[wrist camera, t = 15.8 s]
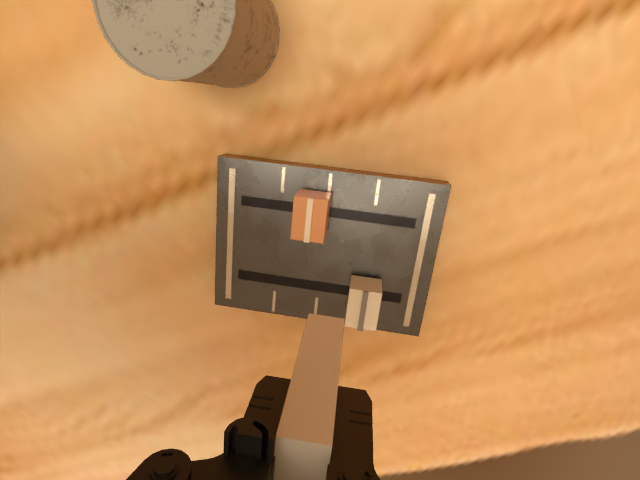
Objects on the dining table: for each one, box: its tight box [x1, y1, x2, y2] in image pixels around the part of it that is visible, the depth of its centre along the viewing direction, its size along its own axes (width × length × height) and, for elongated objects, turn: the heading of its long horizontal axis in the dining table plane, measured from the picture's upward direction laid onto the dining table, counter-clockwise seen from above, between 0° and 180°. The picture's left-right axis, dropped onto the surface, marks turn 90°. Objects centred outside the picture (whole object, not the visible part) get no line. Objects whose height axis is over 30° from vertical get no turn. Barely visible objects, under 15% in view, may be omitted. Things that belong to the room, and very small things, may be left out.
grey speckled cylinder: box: [92, 0, 279, 88], centre depth 31 cm, size 10×10×12 cm
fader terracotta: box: [290, 189, 332, 244], centre depth 37 cm, size 3×4×4 cm
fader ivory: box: [345, 275, 382, 331], centre depth 39 cm, size 3×4×4 cm
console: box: [215, 154, 451, 336], centre depth 41 cm, size 22×16×2 cm
